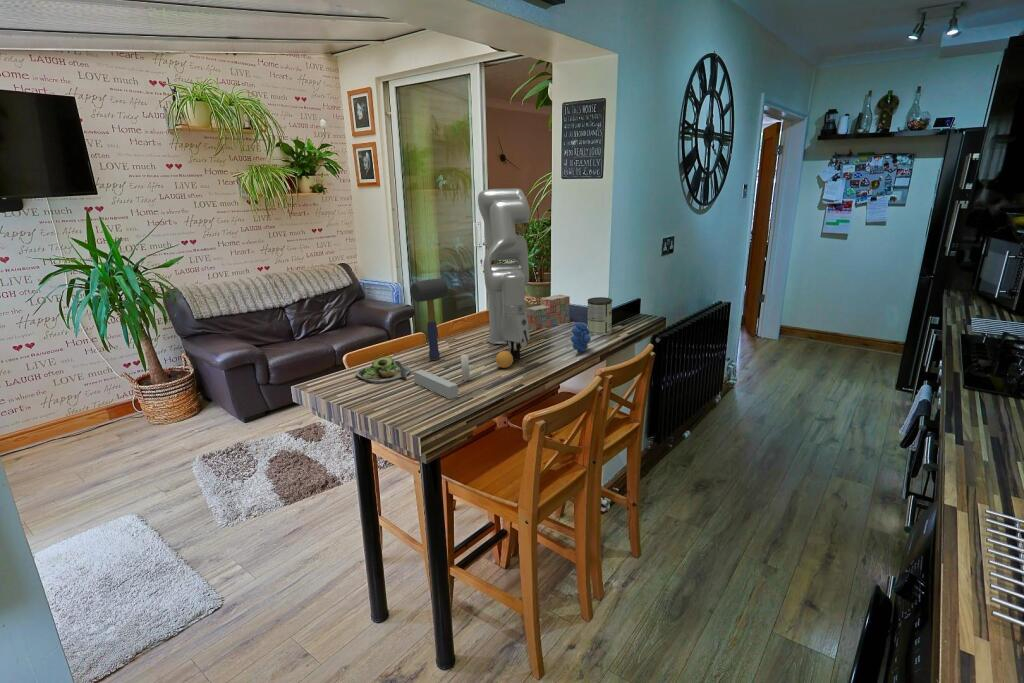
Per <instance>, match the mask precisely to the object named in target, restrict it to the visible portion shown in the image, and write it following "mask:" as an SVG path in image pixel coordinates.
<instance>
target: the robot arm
mask: <svg viewBox="0 0 1024 683" xmlns="http://www.w3.org/2000/svg"><path fill="white" fill-rule="evenodd" d="M477 204H478V205H477V206H478V209H479V212H480V215H481V217H482V220H483V223H484V227H485V228H484V229H485V240H486V250H487V251H486V254H485V256H484V259H483V275H484V276H483V277H484V286H485V288H486V290H487V296H488V321H489V323H488V324H489V336H487V337H486V342H487V343H488V342H489V343H488V344H490V343H491V344H490V345H495V344H504V345H508V349H509V352H510V353H511V354H512V356H513V362H516V361H519V360H520V359H521V349H522V347H526V346H528V344H527V341H530V337H531V336H530V329H529V324H528V318H527V308H525V304H526V302H525V286H527V285H528V283H529V282H530V271H529V270H530V269H529V257H528V255H529V254H528V253H529V251H528V250H529V249H528V244H527V240H526V238H525V236H523V235H519V234H516V226H515V224H525V223H528V222H529V220H530V216H531V214H530V213H531V212H530V211H531V210H530V205H529V202H528V199H527V197H526V195H525V193H524V192H523V190H522V189H521V188H518V187H517V188H491V189H485V190H482V191H480V192H479V193H478V195H477ZM506 260H508V261H509V260H515V262H510V263H509V262H508V263H507V262H505V263H494V264H492V262H493V261H506Z"/></svg>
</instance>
